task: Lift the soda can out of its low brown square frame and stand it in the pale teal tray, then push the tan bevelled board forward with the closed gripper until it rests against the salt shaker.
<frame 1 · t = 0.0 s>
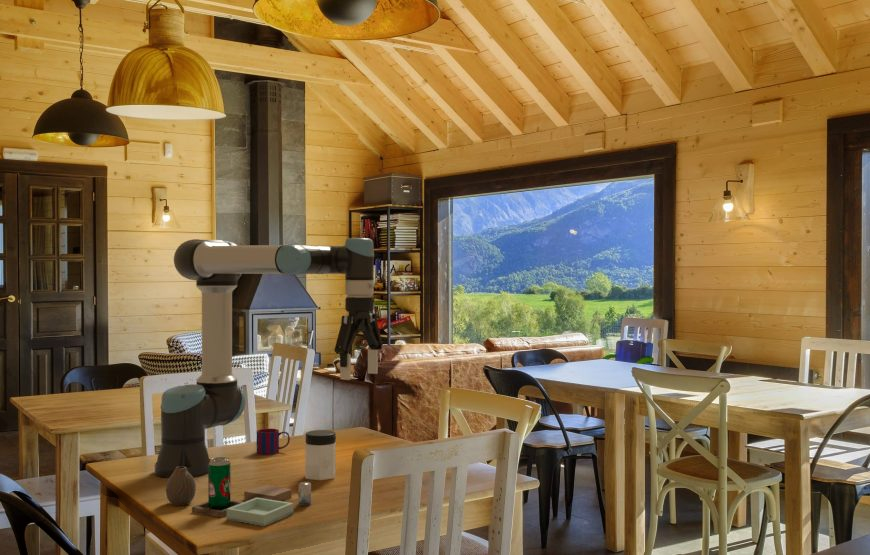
hand: (359, 376, 225), 28 cm above the table, fingers open, 13 cm apart
vase: (180, 504, 205), on the table
jar: (320, 477, 231), on the table
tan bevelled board: (268, 500, 209), on the table
soda can: (219, 510, 199), resting in brown square frame
mug: (273, 453, 261), on the table
salt shaker: (304, 504, 204), on the table
tray: (260, 516, 194), on the table
brown square frame: (219, 509, 199), on the table
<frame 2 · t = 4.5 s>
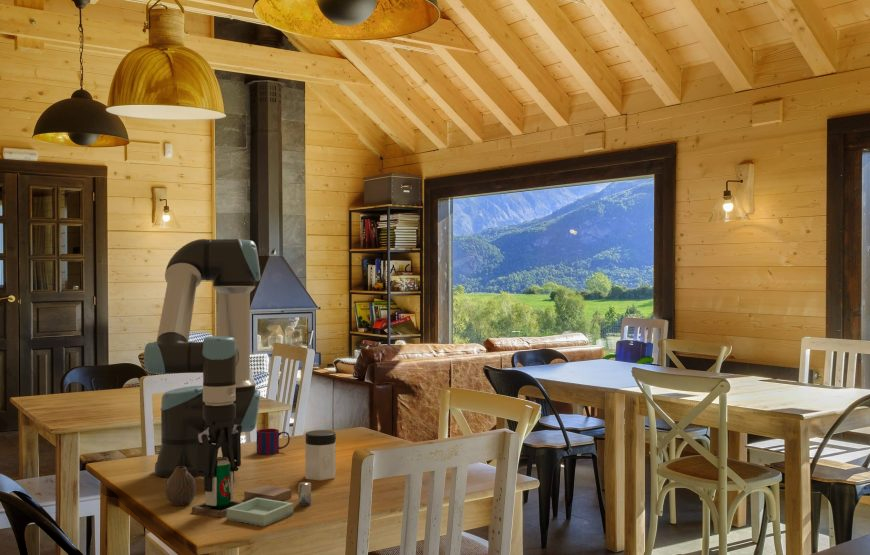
hand: (219, 501, 199), 2 cm above the table, fingers closed on soda can, 5 cm apart
soda can: (219, 510, 199), resting in brown square frame, touching gripper
everything else where it was.
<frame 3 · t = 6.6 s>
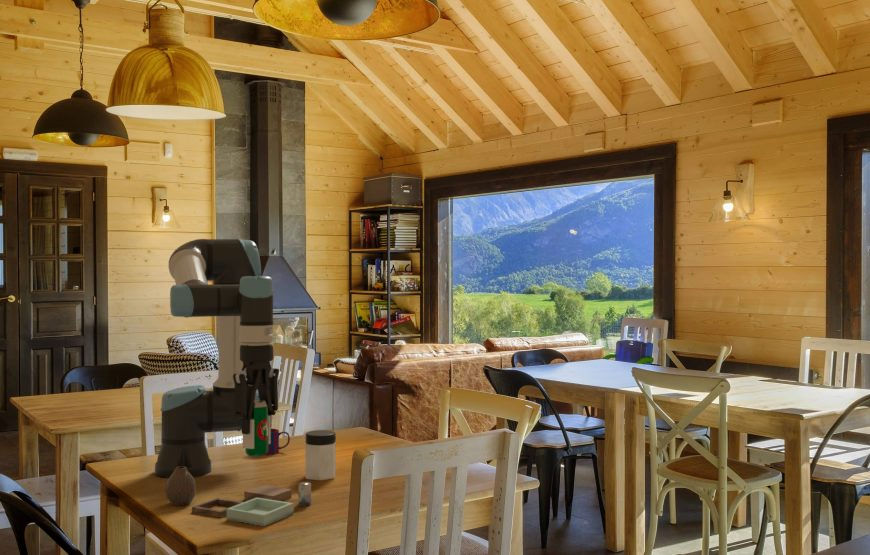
hand: (256, 445, 194), 16 cm above the table, fingers closed on soda can, 5 cm apart
soda can: (256, 455, 194), point 14 cm above the table, touching gripper
everything else where it was.
when the fingers open (4 cm above the table, at t = 9.0 s): soda can drops 2 cm, resting on tray.
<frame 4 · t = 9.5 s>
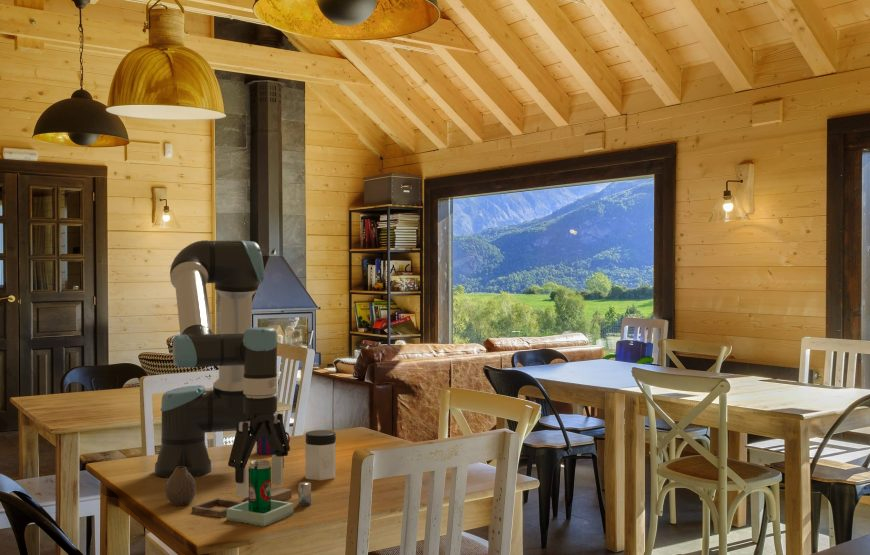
hand: (260, 490, 194), 6 cm above the table, fingers open, 12 cm apart
soda can: (259, 515, 194), resting on tray
everything else where it was.
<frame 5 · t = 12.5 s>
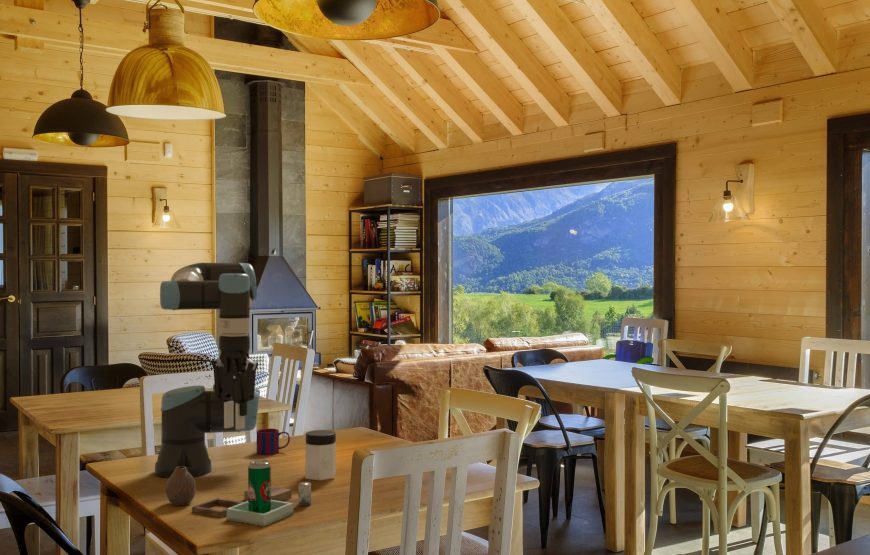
hand: (234, 427, 214), 17 cm above the table, fingers open, 3 cm apart
nothing on the table moved.
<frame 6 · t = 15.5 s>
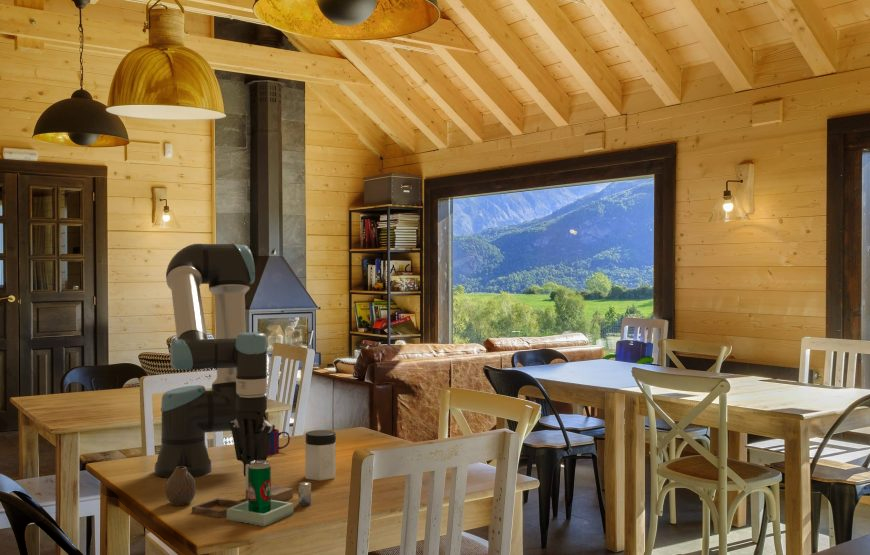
hand: (251, 489, 211), 2 cm above the table, fingers closed
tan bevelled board: (269, 499, 209), on the table, touching gripper
everything else where it was.
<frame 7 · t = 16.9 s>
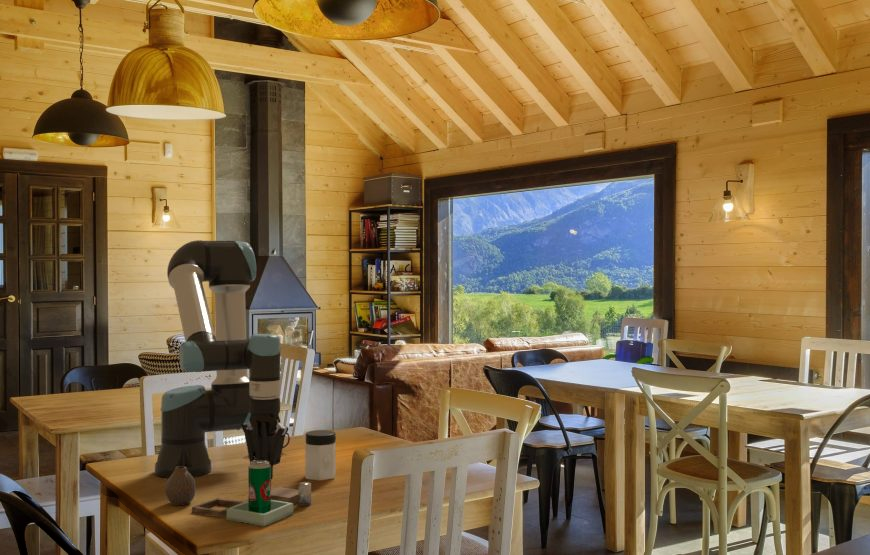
hand: (264, 492, 210), 1 cm above the table, fingers closed
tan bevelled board: (283, 502, 208), on the table, touching gripper
everything else where it was.
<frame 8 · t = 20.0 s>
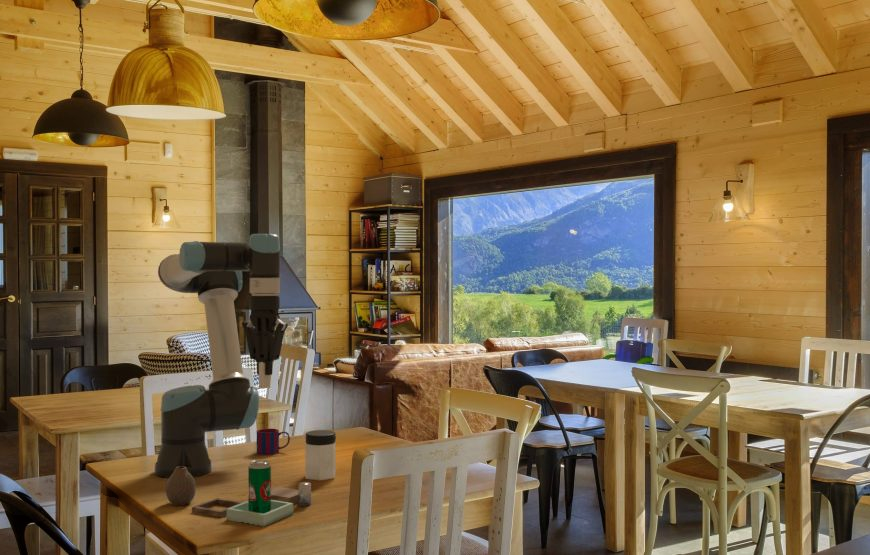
hand: (264, 387, 215), 26 cm above the table, fingers closed
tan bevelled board: (283, 502, 208), on the table
everything else where it was.
at the end: soda can 0.2 cm from the tray (horizontally); soda can tilted 0°; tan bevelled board 1.1 cm from the target spot, on the table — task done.
